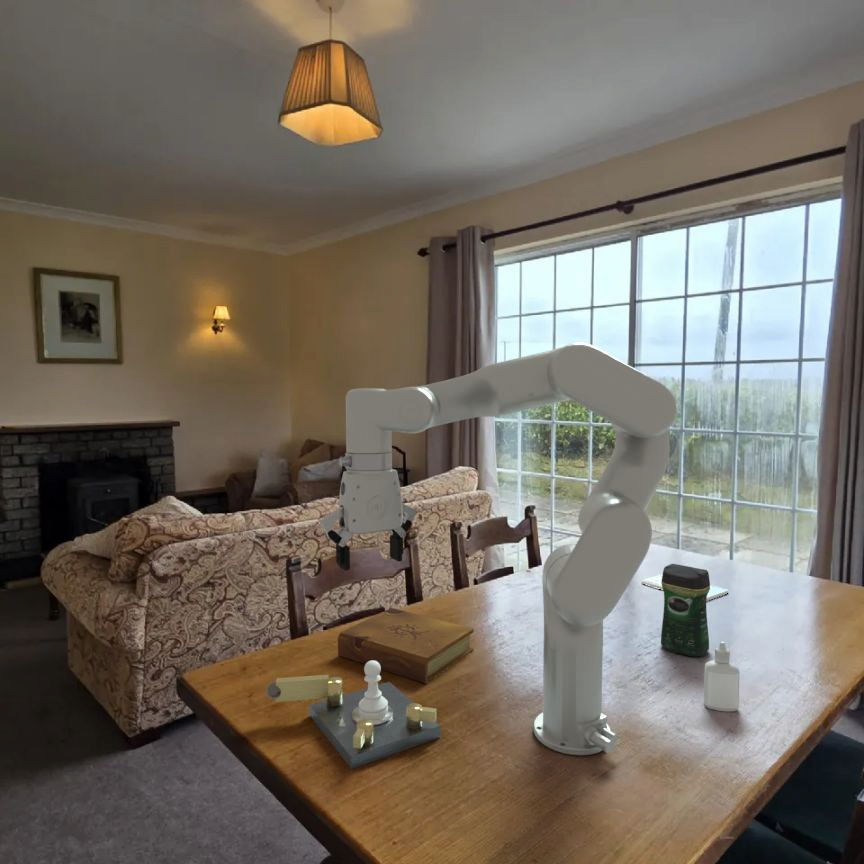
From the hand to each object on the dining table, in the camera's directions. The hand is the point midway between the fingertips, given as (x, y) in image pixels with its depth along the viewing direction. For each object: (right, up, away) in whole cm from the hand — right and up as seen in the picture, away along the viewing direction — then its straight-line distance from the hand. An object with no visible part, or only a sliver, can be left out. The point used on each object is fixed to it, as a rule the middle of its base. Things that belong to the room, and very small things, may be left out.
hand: (370, 563), depth 102 cm
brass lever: (-12, -26, +5) cm, 29 cm away
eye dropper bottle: (+62, -28, +8) cm, 69 cm away
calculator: (+83, -24, +73) cm, 113 cm away
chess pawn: (0, -26, +2) cm, 26 cm away
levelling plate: (0, -28, +2) cm, 28 cm away
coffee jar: (+66, -26, +32) cm, 78 cm away
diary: (+5, -27, +31) cm, 41 cm away
